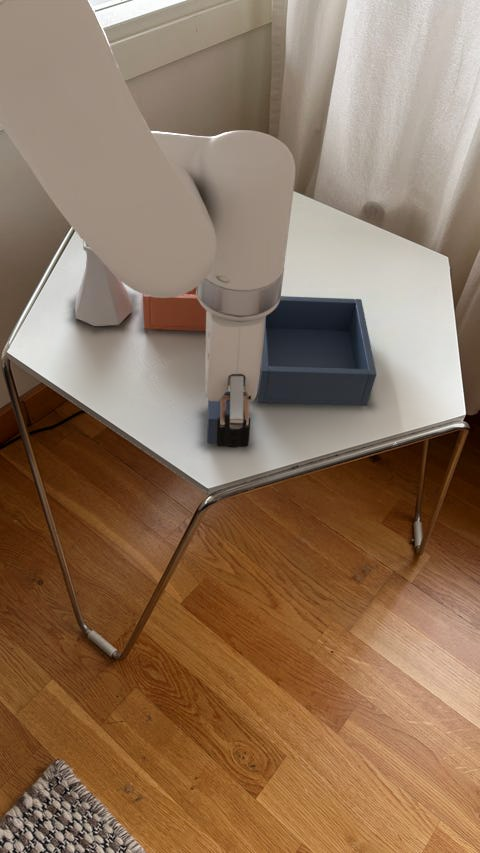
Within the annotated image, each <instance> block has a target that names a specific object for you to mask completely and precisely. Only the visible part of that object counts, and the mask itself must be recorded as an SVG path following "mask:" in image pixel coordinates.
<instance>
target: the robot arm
mask: <svg viewBox="0 0 480 853" xmlns="http://www.w3.org/2000/svg"><path fill="white" fill-rule="evenodd" d="M0 127H1V128H2V130H3V131H4V133H5V134H6V136H8V138H9V139H10V141H11V143H12V144H13V145H14V147H15V148H16V149H17V151H18V152H19V154H20V155H21V157H22V158H23V160H24V161H25V162H26V164H27V165H28V167H29V168H30V170H31V172H32V173H33V175H34V176H35V178H36V179H37V181H38V182H39V183H40V185H41V187H42V188H43V189H44V191H45V192H46V194H47V196H48V197H49V198H50V200H51V201H52V203H54V205H55V207H56V208H57V209H58V210H59V212H60V214H61V215H62V216H63V217H64V218H65V220H66V221H67V223H68V224H69V225H70V227H71V228H72V229H73V230H74V231H75V232H76V234H77V235H78V236H79V238H80V239H81V240H82V242H83V241H84V242H85V243H86V244H87V245H88V246H89V247H90V248H91V249H92V251H93V252H94V253H95V254H96V255H97V256H98V257H99V258H100V260H101V261H102V262H103V263H104V264H105V265H106V266H107V267H108V269H109V270H110V271H111V272H112V273H113V274H114V275H115V276H116V277H117V278H118V279H119V280H120V281H121V282H122V283H123V285H124V286H127V287H128V288H130V289H131V290H133V291H135V292H137V293H139V294H142V295H143V294H144V295H147V296H151V297H158V298H170V297H176V296H180V295H183V294H185V293H187V292H189V291H192V290H193V289H194V288H196V294H197V298H198V301H199V302H200V304H201V306H202V307H203V308H204V309H205V310H206V331H205V397H206V399H207V400H208V399H209V400H210V401H218V402H219V401H220V417H219V418H217V443H216V446H217V447H218V448H230V449H231V448H233V449H234V448H246V447H248V446H249V442H250V430H251V417H250V402H253V401H254V400H255V399H256V398H257V390H258V384H259V377H260V369H261V360H262V351H263V342H264V332H265V321H266V315H268V314H269V313H271V312H272V311H273V310H274V309H275V308H276V307H277V306H278V304H279V302H280V298H281V296H282V290H283V282H284V275H285V274H284V272H285V264H286V263H285V262H286V256H287V247H288V239H289V231H290V224H291V223H290V222H291V214H292V208H293V206H292V205H293V198H294V189H295V182H296V163H295V159H294V156H293V154H292V152H291V151H290V149H289V147H288V146H287V145H286V144H285V143H284V142H283V141H281V140H279V139H278V138H276V137H274V136H273V135H271V134H267V133H264V132H261V131H257V130H249V129H248V130H247V129H245V130H244V129H243V130H242V129H241V130H230V131H227V132H223V133H221V134H218V135H214V136H205V135H204V136H203V135H190V134H183V133H182V134H181V133H173V132H165V131H154V130H151V129H150V127H149V125H148V123H147V122H146V120H145V118H144V116H143V115H142V113H141V111H140V109H139V106H138V105H137V103H136V101H135V100H134V97H133V95H132V93H131V91H130V89H129V87H128V85H127V83H126V80H125V78H124V76H123V74H122V71H121V70H120V67H119V65H118V63H117V60H116V57H115V55H114V53H113V50H112V47H111V45H110V42H109V40H108V38H107V34H106V32H105V31H104V28H103V26H102V24H101V22H100V20H99V18H98V16H97V14H96V11H95V10H94V8H93V6H92V4H91V2H90V0H0ZM228 388H229V389H228ZM228 390H229V392H230V393H226V392H228ZM243 392H245V393H243ZM226 401H230V414H226Z"/></svg>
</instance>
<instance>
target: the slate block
mask: <svg viewBox="0 0 480 853" xmlns="http://www.w3.org/2000/svg"><path fill="white" fill-rule="evenodd" d="M226 393H230V391H226ZM243 393H245V391H243ZM226 414H230V401H226ZM219 417H220V401H219V402H218V401H210V400H209V399H208V398H207V412H206V444H217V418H219Z"/></svg>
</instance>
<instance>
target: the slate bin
mask: <svg viewBox="0 0 480 853" xmlns="http://www.w3.org/2000/svg"><path fill="white" fill-rule="evenodd" d="M376 377H377V369H376V365H375V360H374V356H373V349H372V345H371V340H370V335H369V330H368V326H367V320H366V315H365V311H364V306H363V301H362V299H361V298H344V297H343V298H342V297H341V298H340V297H338V298H337V297H317V296H316V297H314V296H288V295H287V296H285V295H281V298H280V302H279V304H278V306H277V307H276V308H275V309H274V310H273V311H272V312H271V313H269V314H268V315H266V321H265V332H264V342H263V351H262V360H261V369H260V377H259V384H258V390H257V396H256V398H257V403H270V404H271V403H273V404H275V403H276V404H277V403H278V404H310V405H311V404H312V405H343V406H344V405H346V406H347V405H348V406H368V404H369V400H370V398H371V395H372V391H373V387H374V384H375V380H376Z"/></svg>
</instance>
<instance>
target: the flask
mask: <svg viewBox="0 0 480 853" xmlns="http://www.w3.org/2000/svg"><path fill="white" fill-rule="evenodd" d="M82 248H83V250H84V251H85V253H86V261H85V267H84V268H85V269H84V272H83V276H82V279H81V283H80V286H79V289H78V292H77V296H76V298H75V301H74V307H75V308H74V310H75V311H74V314H75V317H74V318H75V319H77V320H80V321H82V322H84V323H86V324H89V325H91V326H94V327H104V326H119V325H120V324H121V323H122V322H123V321H124V320H125V319H126V318H127V317H128V316H129V315H130V314H131V313H132V301H131V295H130V293H129V291H128V290H127V288H126V287H125V284H124V283H123V282H122V281H120V280H119V279H118V278H117V277H116V276H115V275H114V274H113V273H112V272H111V271H110V270H109V269H108V267H107V266H106V265H105V264H104V263H103V262H102V261H101V260H100V258H99V257H98V256H97V255H96V254H95V253H94V252H93V251H92V249H91V248H90V247H89V246H88V245H87V244H86V243H85V242H84V241H83V240H82Z"/></svg>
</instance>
